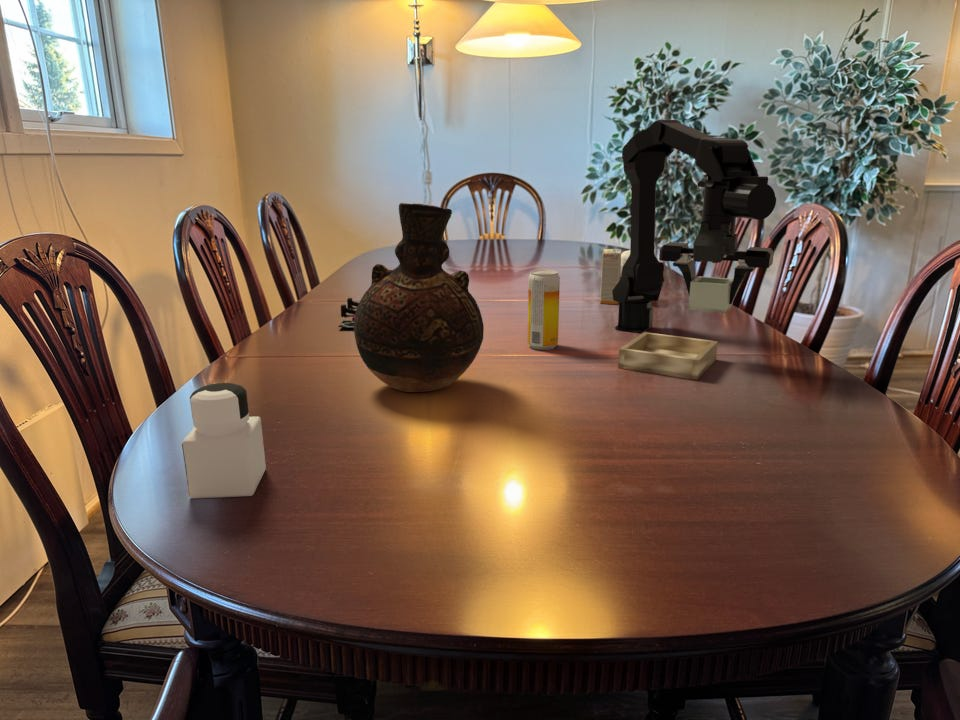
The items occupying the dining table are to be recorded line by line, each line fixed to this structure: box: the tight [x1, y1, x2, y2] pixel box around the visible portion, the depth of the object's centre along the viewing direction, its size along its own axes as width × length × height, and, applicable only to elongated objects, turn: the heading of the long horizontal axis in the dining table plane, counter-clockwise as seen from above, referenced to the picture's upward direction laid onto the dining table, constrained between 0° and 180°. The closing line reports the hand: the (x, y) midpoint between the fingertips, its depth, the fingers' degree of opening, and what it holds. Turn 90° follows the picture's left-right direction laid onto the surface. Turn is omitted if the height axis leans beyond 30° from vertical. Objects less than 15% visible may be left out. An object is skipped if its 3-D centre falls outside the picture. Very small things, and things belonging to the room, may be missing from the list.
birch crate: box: [617, 331, 719, 381], centre depth 125 cm, size 14×14×4 cm
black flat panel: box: [337, 297, 359, 328], centre depth 164 cm, size 30×3×15 cm
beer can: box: [527, 269, 561, 351], centre depth 135 cm, size 6×6×15 cm
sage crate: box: [687, 275, 734, 314], centre depth 124 cm, size 6×6×5 cm
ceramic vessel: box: [353, 202, 485, 393], centre depth 110 cm, size 21×18×30 cm
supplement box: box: [599, 248, 622, 305], centre depth 176 cm, size 8×5×13 cm, turn 168°
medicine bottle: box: [181, 382, 267, 499], centre depth 79 cm, size 7×7×12 cm
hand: (710, 302), depth 125 cm, fingers closed on sage crate, 6 cm apart
